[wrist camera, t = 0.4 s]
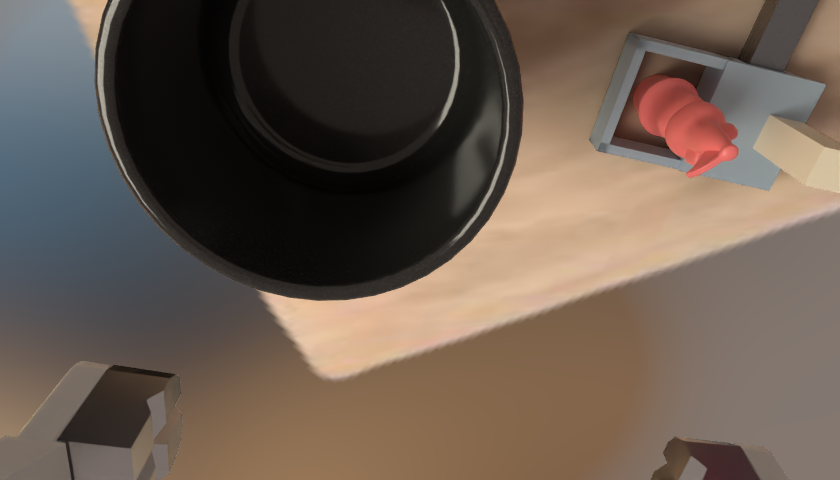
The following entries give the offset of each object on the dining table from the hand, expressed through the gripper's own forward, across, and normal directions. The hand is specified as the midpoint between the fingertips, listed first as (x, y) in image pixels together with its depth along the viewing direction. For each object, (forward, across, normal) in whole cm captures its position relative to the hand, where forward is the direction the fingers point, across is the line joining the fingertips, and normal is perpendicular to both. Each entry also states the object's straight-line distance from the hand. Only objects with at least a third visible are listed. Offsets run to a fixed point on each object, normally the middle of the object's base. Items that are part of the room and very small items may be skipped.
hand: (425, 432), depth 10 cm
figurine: (+46, -21, +4) cm, 51 cm away
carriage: (+46, -24, +4) cm, 52 cm away
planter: (+46, +5, +2) cm, 47 cm away
